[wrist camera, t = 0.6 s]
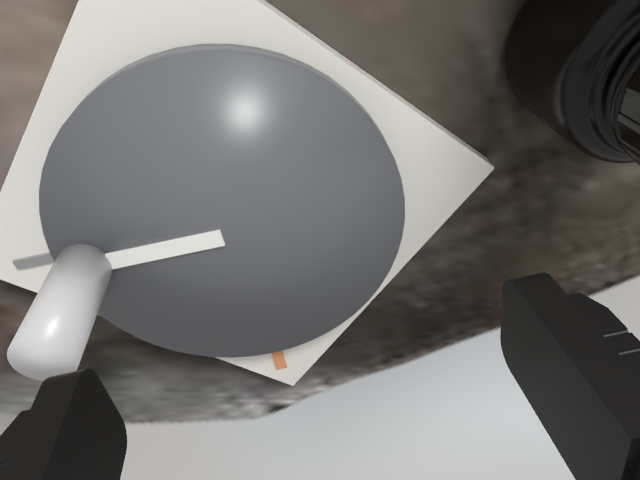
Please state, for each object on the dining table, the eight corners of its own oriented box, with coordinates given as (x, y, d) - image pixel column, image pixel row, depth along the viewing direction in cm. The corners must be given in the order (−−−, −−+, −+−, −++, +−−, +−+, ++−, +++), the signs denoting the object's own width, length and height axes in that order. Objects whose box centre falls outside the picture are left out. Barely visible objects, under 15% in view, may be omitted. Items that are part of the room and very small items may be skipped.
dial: (380, 3, 24) (433, 50, 17) (410, 307, 36) (449, 410, 29) (-29, 91, 24) (-143, 173, 17) (133, 364, 36) (103, 481, 29)
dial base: (126, -98, 22) (117, -97, 21) (485, 157, 31) (496, 169, 30) (-20, 253, 31) (-33, 270, 30) (291, 370, 40) (293, 387, 39)
